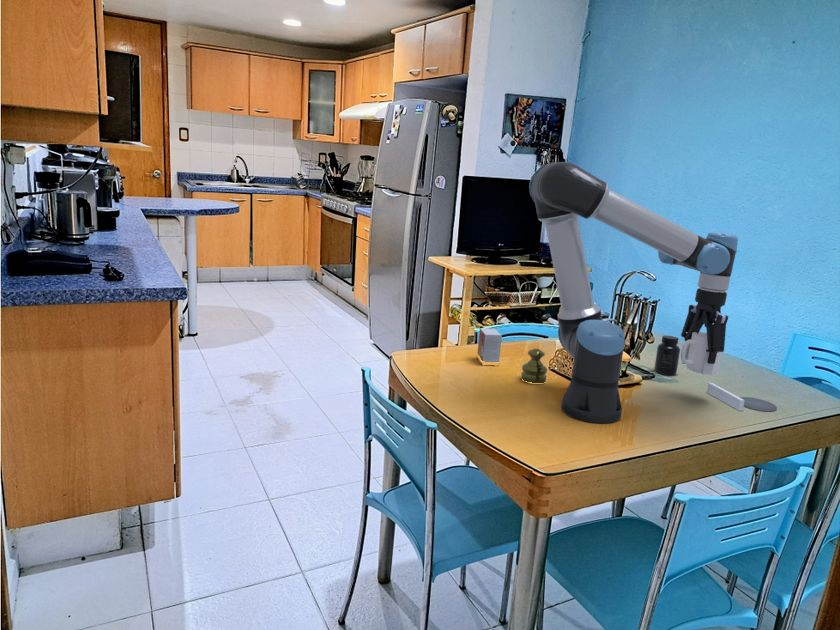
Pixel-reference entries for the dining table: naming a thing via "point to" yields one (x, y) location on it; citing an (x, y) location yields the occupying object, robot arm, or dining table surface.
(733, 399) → the acrylic wall
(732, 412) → the dining table surface
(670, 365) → the supplement bottle
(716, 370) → the cup
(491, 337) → the small box
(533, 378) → the olive green tiered piece
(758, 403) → the coaster
